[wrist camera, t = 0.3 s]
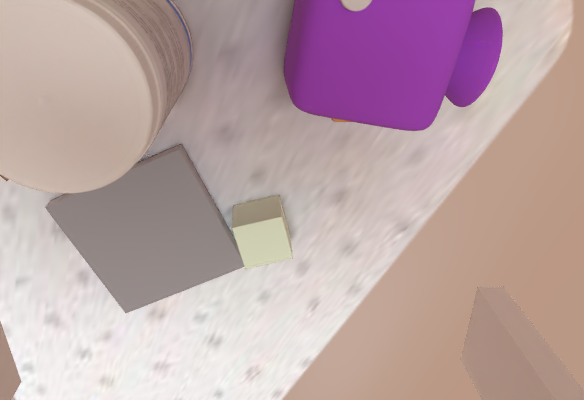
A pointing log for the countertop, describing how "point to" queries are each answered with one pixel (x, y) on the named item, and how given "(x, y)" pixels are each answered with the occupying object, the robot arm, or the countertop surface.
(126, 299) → the slate coaster
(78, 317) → the countertop surface
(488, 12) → the toy camera
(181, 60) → the supplement tub
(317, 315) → the countertop surface
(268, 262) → the pale green cube
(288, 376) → the countertop surface
